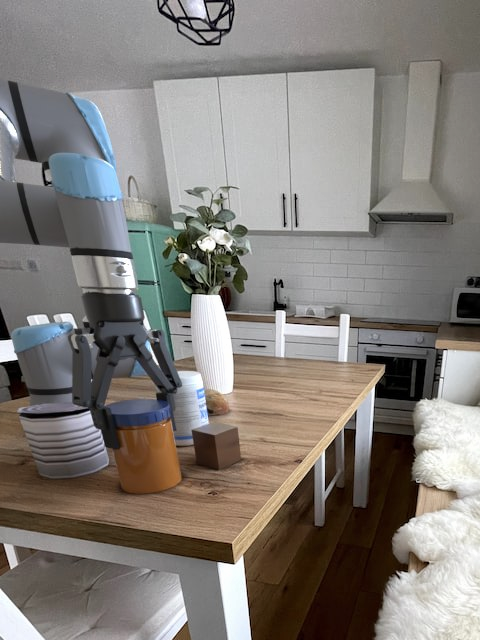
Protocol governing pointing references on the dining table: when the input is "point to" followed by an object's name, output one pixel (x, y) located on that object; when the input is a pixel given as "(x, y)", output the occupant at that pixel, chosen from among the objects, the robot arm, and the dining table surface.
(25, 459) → the dining table surface
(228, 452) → the cube
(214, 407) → the bread roll
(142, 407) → the lid
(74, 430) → the can
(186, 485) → the dining table surface
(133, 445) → the jar
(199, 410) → the supplement tub
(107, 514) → the dining table surface
